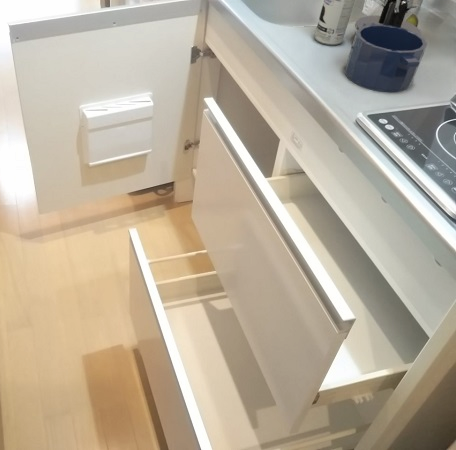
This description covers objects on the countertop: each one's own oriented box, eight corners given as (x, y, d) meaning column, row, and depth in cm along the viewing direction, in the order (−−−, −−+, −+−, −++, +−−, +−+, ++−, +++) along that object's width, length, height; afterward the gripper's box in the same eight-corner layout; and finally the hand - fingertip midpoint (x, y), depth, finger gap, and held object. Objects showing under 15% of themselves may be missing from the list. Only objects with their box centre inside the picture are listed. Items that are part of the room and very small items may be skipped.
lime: (398, 37, 127) (405, 17, 123) (392, 29, 130) (399, 9, 127) (416, 38, 127) (424, 18, 123) (410, 31, 130) (418, 10, 127)
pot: (385, 56, 118) (398, 18, 113) (430, 97, 105) (448, 57, 99) (329, 58, 116) (340, 20, 111) (368, 100, 103) (382, 59, 97)
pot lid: (399, 19, 127) (409, -9, 122) (431, 45, 117) (444, 15, 112) (343, 21, 125) (352, -8, 120) (371, 47, 114) (382, 16, 110)
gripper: (459, -51, 102) (422, 40, 114) (415, -73, 114) (386, 12, 126) (424, -51, 101) (391, 41, 113) (384, -73, 112) (358, 13, 125)
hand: (389, 25), depth 120 cm, fingers closed on pot lid, 2 cm apart
